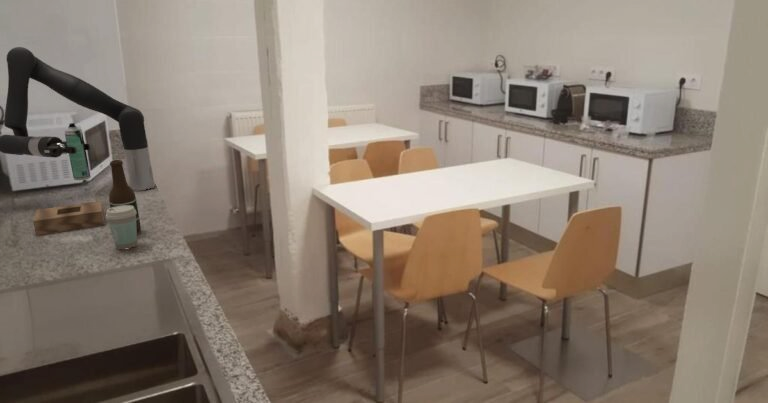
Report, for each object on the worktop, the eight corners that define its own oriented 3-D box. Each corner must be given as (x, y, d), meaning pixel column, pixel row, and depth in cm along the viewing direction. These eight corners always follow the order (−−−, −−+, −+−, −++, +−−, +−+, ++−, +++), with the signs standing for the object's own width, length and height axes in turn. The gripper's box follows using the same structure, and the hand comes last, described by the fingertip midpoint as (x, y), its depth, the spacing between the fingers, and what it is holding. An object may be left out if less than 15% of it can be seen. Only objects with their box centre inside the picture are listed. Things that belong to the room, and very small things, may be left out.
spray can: (93, 176, 206) (83, 121, 200) (84, 180, 200) (74, 124, 194) (79, 176, 206) (69, 122, 200) (70, 180, 201) (59, 124, 195)
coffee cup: (117, 242, 175) (111, 205, 171) (145, 240, 175) (139, 203, 172) (107, 252, 167) (99, 214, 163) (136, 250, 167) (130, 212, 164)
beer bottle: (146, 229, 185) (134, 158, 178) (129, 238, 178) (116, 164, 171) (127, 228, 187) (115, 157, 180) (109, 236, 180) (96, 163, 173)
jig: (103, 213, 203) (101, 200, 201) (104, 225, 191) (101, 211, 189) (40, 223, 195) (37, 209, 193) (36, 235, 183) (33, 221, 181)
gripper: (26, 140, 197) (63, 142, 192) (60, 132, 210) (96, 134, 205) (30, 161, 199) (67, 163, 194) (64, 152, 212) (99, 154, 207)
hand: (82, 148), depth 199 cm, fingers closed on spray can, 5 cm apart
